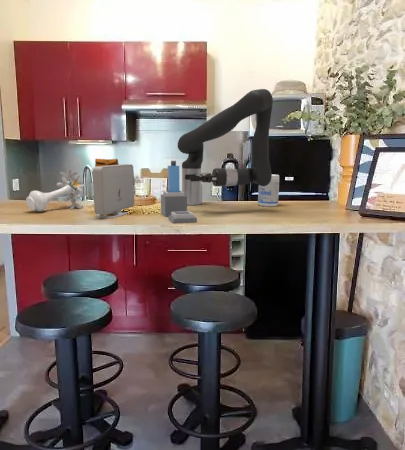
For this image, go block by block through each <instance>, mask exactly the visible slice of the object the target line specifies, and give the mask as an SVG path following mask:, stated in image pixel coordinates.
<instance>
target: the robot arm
mask: <svg viewBox="0 0 405 450" xmlns="http://www.w3.org/2000/svg"><path fill="white" fill-rule="evenodd" d="M273 100H274V99H273V95H272V93H271V91H270V90H268V89H265V88H259V89H252V90H249V92H247V93H246V94H245V95H244V96H242V97H241V98H240V99H239V100H238V101H236V102H235V103H234V104H233V105H231V106H228V107H227V108H225V109H223V110H222V111H220V112H218V113H217V114H215V115H214V116H212V117H211V118H209V119H208V120H207V121H205V122H203V123H202V124H200V125H199V126H198V127H195V129H192V130H190V131H188V132H186V133H184V134H183V135H181V136H180V137H179V139H178V141H177V148H178V150H179V152H180V153H182V154H186V155H187V158H186V159H185V160H184V161H183V162H182V163H181V191H182V192H184V195H185V196H187V206H198V205H202V204H203V184H202V183H209V184H210V183H212V185H213V186H214V187H232V186H233V187H234V186H245V185H248V184H256V185H258V186H259V185H260V186H267V185H268V184H269V183H270V181H271V178H272V168H271V163H270V158H269V157H270V156H269V155H270V151H269V148H270V147H269V146H270V145H269V142H270V141H269V140H270V127H271V126H270V125H271V118H272V109H273V104H274V103H273V102H274V101H273ZM253 115H256V125H255V130H254V132H253V133H254V134H253V137H252V140H251V141H252V142H251V160H252V162H253V163H254V165H255V167H247V168H231V167H230V168H229V167H225V168H218V167H217V168H213V169H212V173H211V172H202V165H203V161H204V143H205V142H208V141H209V142H210V141H213V140H215V139H218V138H219V139H220V138H221V137H223V136H225V135H226V134H227V135H228V133H230V132H231V131H233V130H234V129H235V128H236V127H237V126H238V125H239V123H240V122H241V121H243V120H245V119H247V118H248V117H251V116H253Z"/></svg>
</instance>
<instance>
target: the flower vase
mask: <svg viewBox="0 0 405 450" xmlns="http://www.w3.org/2000/svg"><path fill="white" fill-rule="evenodd" d="M59 174H60V175H62V176H61V182H57V183H56V186H57V187H59V189H56V190H53V191H50V192H42V191H40V190H31V191H30V192H29V194H28V196H27V197H26V198H25V199H26V200H25V201H26V204H27V207H28V208H29V210H31V211H35V212H38V213H40V212H41V213H42V212H43V211H44V210H46V208H47V205H48V204H49V203H50V202H51V201H53V200H54V199H57V198H59V197H62V196H65V195H66V196H65V198H64V202H69V201H70V203H71V204H70V205H68V206H66V207H65V208H66V209H71V210H72V209H74V208H77V209H82V207H83V206H82V205H80V204H79V203H77V202H76V199H80V198H81V197H82V196H81V194H79V193H81V192H82V191H83V188H81V187H84V186H85V184H84V183H83V182H81V177H80V175H78V172H72V170H71V169H68V170H67V171H66V172H63V171H59ZM76 175H77V177H75V176H76ZM67 179H68V181H67Z"/></svg>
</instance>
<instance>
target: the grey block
mask: <svg viewBox="0 0 405 450" xmlns="http://www.w3.org/2000/svg"><path fill="white" fill-rule="evenodd" d="M162 193H163V194H160V214H161V215H162V216H163V217H165V218H168V215H171V212H180V211H188V205H187V196H185V195H184V192H182V190H180V192H171V193H168V190H163V192H162Z"/></svg>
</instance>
